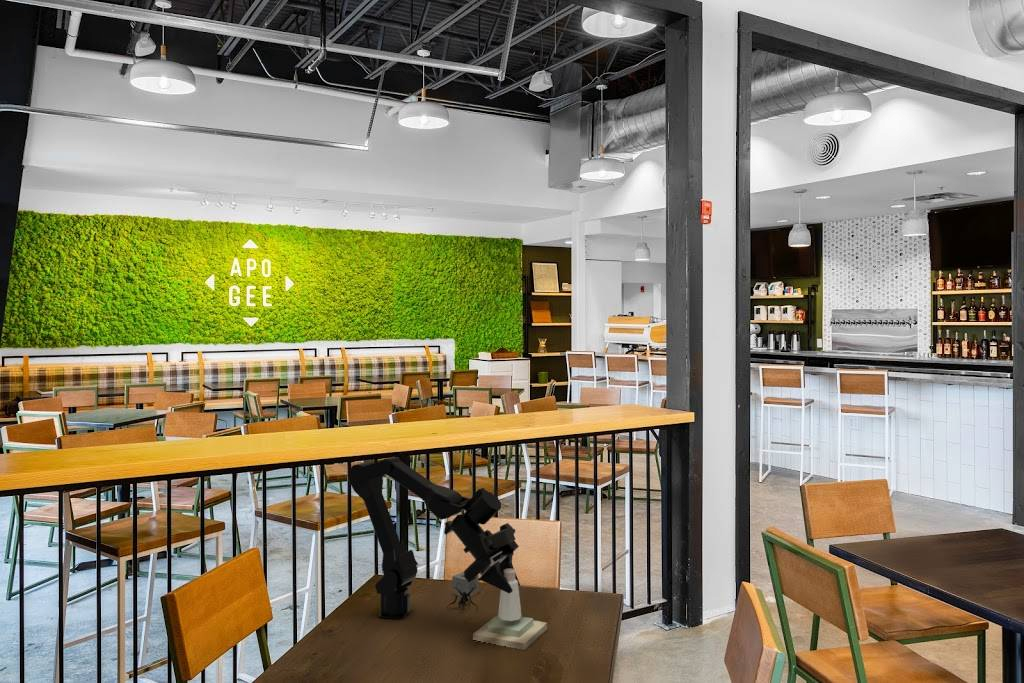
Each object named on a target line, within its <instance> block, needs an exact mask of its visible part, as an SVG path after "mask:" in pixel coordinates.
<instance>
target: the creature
mask: <svg viewBox="0 0 1024 683" xmlns="http://www.w3.org/2000/svg"><path fill="white" fill-rule="evenodd" d="M453 587H454V586H453ZM454 588H455V587H454ZM475 588H476V587H475ZM475 588H474V589H475ZM455 589H456V588H455ZM474 589H473V590H474ZM456 590H457V591H458V592H459V593H460V594H461V596H462V597H460V600H459V601H458V603H457V606H458V605H459V607H458V609H460V608H461V610H463V609H464V608H465V605H466V604H467V602H468V606H469V605H470V606H471V604H472V605H474V606H475V607H476V610H478V608H479V607H478V606H477V604H476V603H474V602H473V601H472V598H471V597H472V596H470V593H471V592H472V591H473V590H471V591H470V592H469V593H467V594H466V592H465V591H464V592H463V593H461V592H460V591H459V590H458V589H456ZM454 596H455V599H454V600H453V601H452V602H451V603H449V605H448V606H447V608H448V609H449V607H450V606H452V605H454V604H455V603H456V602H457V600H458V596H457V595H454ZM468 596H469V598H467V597H468ZM461 605H462V607H461Z"/></svg>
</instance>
